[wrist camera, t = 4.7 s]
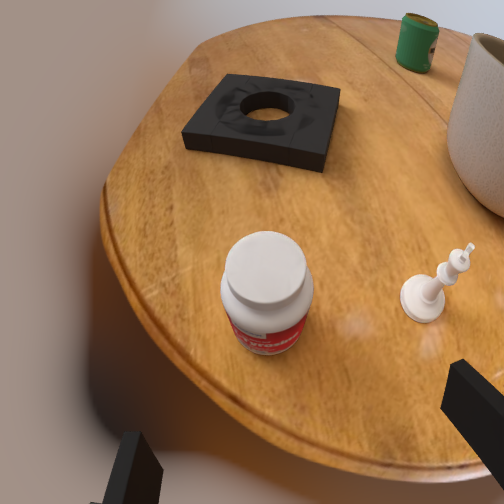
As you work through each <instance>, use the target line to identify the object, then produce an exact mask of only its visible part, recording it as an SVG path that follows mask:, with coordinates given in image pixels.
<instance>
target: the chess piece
mask: <svg viewBox="0 0 504 504" xmlns="http://www.w3.org/2000/svg"><path fill="white" fill-rule="evenodd" d="M474 248H475V246H474V245H473V244H472V243H469V244H468V245H467V247H466V249H465V251H463V250H461V249H454V250H452V251H451V253H450V255H449V259H448V262H443V263H441V264H440V265H439V266H438V267H437V276H436V277H435V278H434V279H433V278H432V277H430V276H427V275H415V276H413V277H411V278H410V279H408V280H407V281H406V282H405V283H404V285H403V286H402V289H401V293H400V300H401V304H402V307H403V309H404V311H405V312H406V314H407V315H408V316H409V317H410V318H412V319H413V320H415V321H417V322H420V323H428V322H432V321H434V320H435V319H436V318H437V317H438V316H439V315H440V314H441V312H442V311H443V308H444V305H445V296H444V292H443V290H442V288H443V287H444V285H448V286H451V285H454V284H455V283H456V281H457V278H458V274H459V273H463V272H466V271H467V270H468V269H469V267H470V259H469V257H468V256H469V254H470V253H471V252H472V251H473V250H474Z"/></svg>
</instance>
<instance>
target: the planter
mask: <svg viewBox="0 0 504 504" xmlns="http://www.w3.org/2000/svg"><path fill="white" fill-rule="evenodd" d="M447 145H448V151H449V154H450V158H451V161H452V163H453V165H454V168H455V170H456V172H457V174H458V175H459V177H460V179H461V181H462V182H463V184H464V185H465V186H466V188H467V189H468V190H469V192H470V193H471V194H472V195H473V196H474V197H475V198H476V199H477V200H478V201H479V202H480V203H481V204H482V205H484V206H485V207H486V208H488V209H489V210H490V211H492V212H494V213H495V214H497V215H499V216H501V217H503V218H504V40H501V39H499V38H497V37H494V36H491V35H488V34H484V33H475V34H474V35H473V37H472V40H471V44H470V47H469V51H468V55H467V59H466V62H465V66H464V69H463V73H462V76H461V80H460V83H459V86H458V89H457V93H456V96H455V99H454V103H453V106H452V110H451V113H450V118H449V123H448V128H447Z"/></svg>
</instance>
